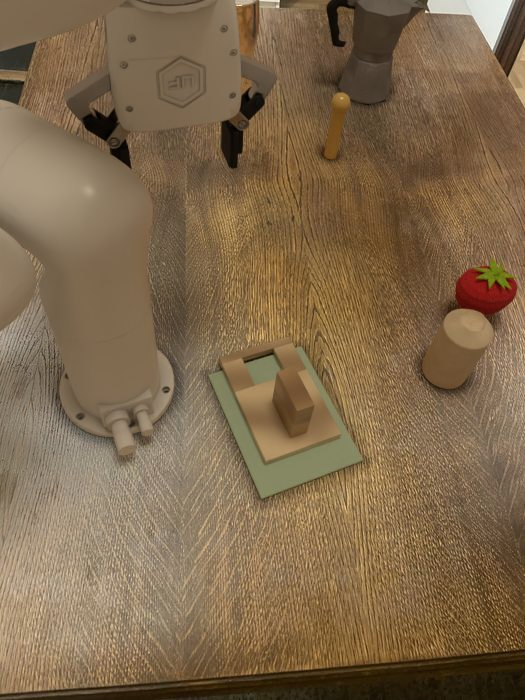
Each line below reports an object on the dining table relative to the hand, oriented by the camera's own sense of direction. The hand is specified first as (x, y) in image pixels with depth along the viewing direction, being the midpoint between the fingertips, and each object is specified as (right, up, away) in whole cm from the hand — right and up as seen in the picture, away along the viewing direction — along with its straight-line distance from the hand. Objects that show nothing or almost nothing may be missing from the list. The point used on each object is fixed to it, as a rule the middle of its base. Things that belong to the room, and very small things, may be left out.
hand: (178, 167), depth 56 cm
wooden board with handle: (+9, -22, +13) cm, 28 cm away
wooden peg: (+18, +14, +40) cm, 46 cm away
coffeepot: (+24, +29, +51) cm, 63 cm away
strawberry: (+35, -13, +23) cm, 43 cm away
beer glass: (+3, +28, +48) cm, 56 cm away
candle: (+30, -19, +18) cm, 40 cm away
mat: (+10, -24, +12) cm, 29 cm away
